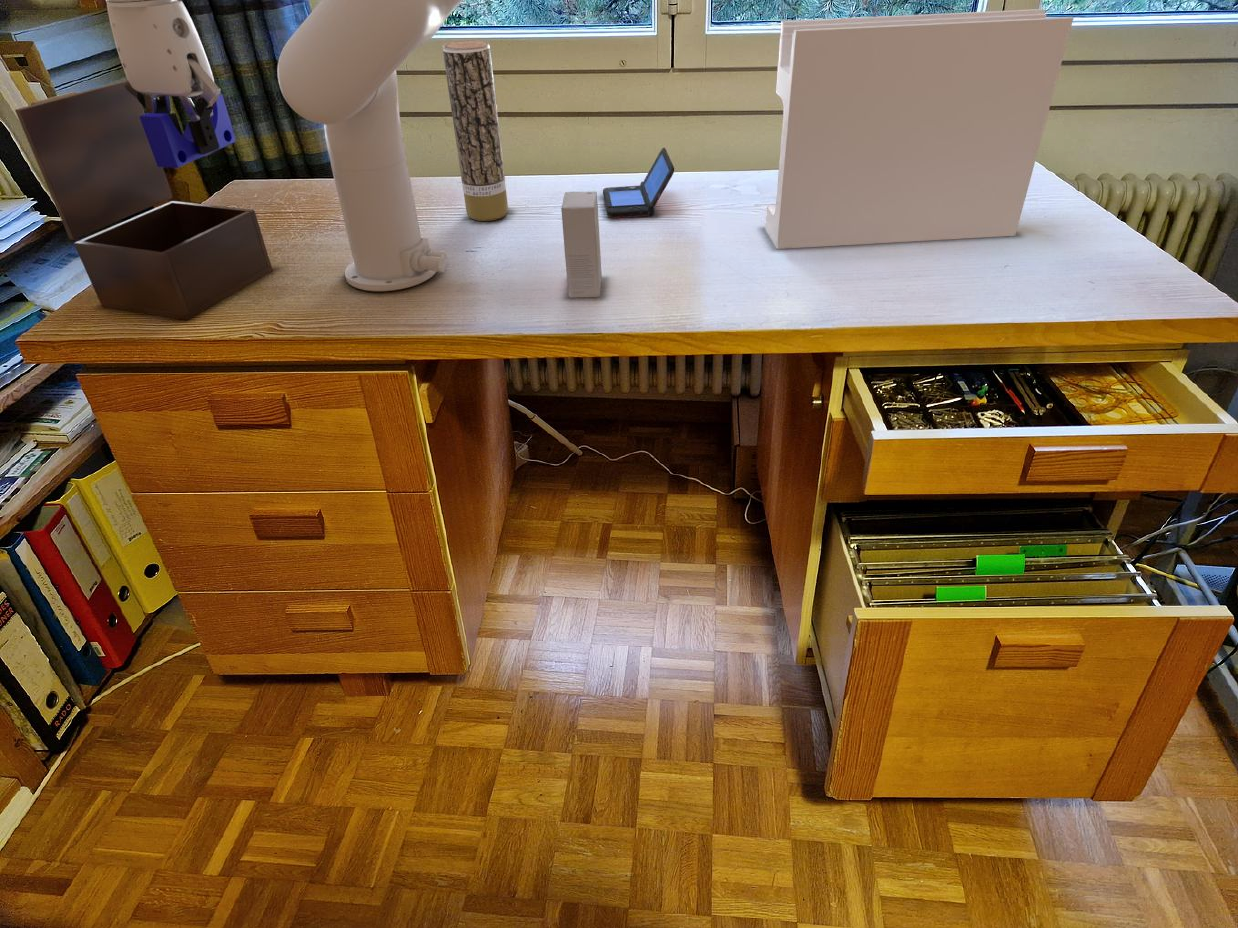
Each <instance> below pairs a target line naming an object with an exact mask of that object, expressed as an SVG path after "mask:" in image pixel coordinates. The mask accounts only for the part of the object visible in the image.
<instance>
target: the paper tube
mask: <svg viewBox="0 0 1238 928" xmlns="http://www.w3.org/2000/svg"><path fill="white" fill-rule="evenodd" d="M441 47H442V56H443V63H444V70H445V74H446V83H447V89H448V96H449V103H450V110H451V117H452V123H453V131H454V137H455V143H456V145H455V146H456V151H457V158H458V165H459V172H460V179H461V185H462V190H463V198H464V205H465V211H466V215H467V216H468V218H470V219H471V220H474V221H480V222H490V221H495V220H499V219H501V218H504V217H505V216H507V214H508V212H509V204H508V203H509V202H508V195H507V193H508V192H507V185H506V176H505V175H506V174H505V166H504V159H503V158H504V157H503V150H502V139H501V132H500V131H501V130H500V123H499V115H498V105H497V97H496V96H497V95H496V89H495V81H494V79H495V78H494V72H493V71H494V70H493V63H492V54H491V46H490V42H489V41H485V40H459V41H451V42H447V43H445V44H443V45H442V46H441Z"/></svg>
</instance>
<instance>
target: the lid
mask: <svg viewBox="0 0 1238 928" xmlns="http://www.w3.org/2000/svg"><path fill="white" fill-rule="evenodd" d="M14 111H15V114H16V116H17V118H18V121H19V123H20V126H21V127H22V130H23V134H24V136H25V137H26V140H27V142H28V144H29V147H30V149H31V151H32V154H33V157H34V158H35V161H36V163H37V165H38V168H39V170H40V172H41V175H42V177H43V180H44V182H45V184H46V187H47V189H48V192H49V194H50V196H51V199H52V201H53V204H54V206H55V208H56V210H57V212H58V215H59V217H60V220H61V222H62V225H63V227H64V230H65V231H66V235H67V237H68V239H69V240H77V239H80V238H81V237H83V236H86V235H88V234H91V233H93V232H95V231H98V230H100V229H103V228H105V227H108V226H109V225H112V224H114V223H117V222H119V221H121V220H124V219H127V218H128V217H129V218H130V217H131V216H133V215H135V214H138V213H141V212H143V211H145V210H147V209H149V208H153V207H155V206H156V205H159V204H161V203H165V202H166V201H168V200H171V199H173V194H172V190H171V188H170V185H169V182H168V179H167V176H166V173H165V170H164V167H158V166H157V164H156V161H155V158H154V155H153V153H152V150H151V147H150V144H149V142H148V139H147V136H146V133H145V131H144V128H143V125H142V122H141V120H140V117H139V116H141V115H144V114H146V113H145V111H144V106H143V105H142V104H141V103H140V102H139V101H138V99H137V98H136V97H135V96H133V95H132V94H131V93H130V92H129V91H128V90H127V89H126V88H125V80H120V81H117V82H114V83H109V84H106V85H102V86H98V87H95V88H91V89H88V90H87V89H86V90H84V91H80V92H77V91H71V92H67V93H63V94H60V95H59V94H58V95H56V96H52V97H48V98H45V99H40V100H36V101H33V102H31V103H30V105H27V106H24V107H20V108H15V110H14Z"/></svg>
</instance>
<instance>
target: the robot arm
mask: <svg viewBox="0 0 1238 928" xmlns="http://www.w3.org/2000/svg"><path fill="white" fill-rule="evenodd" d="M462 1H463V0H320V1H319V2H318V3H317V4H316V6H315V7H314V9H313V10H312V11H311V12H310V13H309V15H308V16H307V17H306V18H305V19H304V20H303V22H302V23H301V24H300V25H299V27H297V28H296V30H295V32H294V33H292V34H291V36H290V38H288V40H287V41H286V43H285V45H284V46H283V48H282V50H281V51H280V55H279V58H278V60H277V69H276V70H277V71H276V72H277V82H278V85H279V89H280V91H281V94H282V96H283V98H284V100H285V102H286V103H287V104H288V106H289V107H290V108H291V109H292V110H293V112H295V113H296V114H297V115H298V116H300V117H301V118H303V119H305V120H307V121H308V122H311V123H315V124H319V125H323V128H324V129H323V131H324V137H325V143H326V149H327V154H328V157H329V158H328V159H329V161H330V167H331V171H332V176H333V180H334V183H335V188H336V193H337V197H338V201H339V204H340V210H341V213H342V217H343V222H344V226H345V230H346V234H347V239H348V243H349V247H350V251H351V255H352V259H353V261H352V262H350V263H349V264H348V265H347V266H346V268H345V270H344V276H345V279H346V282H347V284H348V285H350V286H352V288H353V287H354V288H355V289H359V290H362V291H369V292H390V291H391V292H392V291H398V290H403V289H408V288H412V287H415V286H418V285H420V284H422V283H425V282H426V281H428V280H430V279H431V278H433V276H434V275H436V273H437V272H439V273H443V272H445V270H446V268H447V257H448V256H447V253H446V252H445V251H441V250H432V249H431V248H430V247H431V246H430V242H429V238H427V237H426V238H424V237H422V236H421V230H420V224H419V219H418V214H417V213H418V212H417V209H416V208H417V207H416V202H415V198H414V192H413V187H412V181H411V175H410V170H409V166H408V165H409V163H408V159H407V152H406V147H405V141H404V136H403V129H402V122H401V113H400V102H399V88H398V87H399V86H398V74H397V69H398V68H399V67H400V66H401V65H402V64H403V63H404V62H405V60H407V59H408V57H410V56H411V54H413V52H415V51H416V50H417V49H419V48H420V47H422V46H423V45H424V44H426V43H428V42H429V41H430V40H431V39H432V38H433V37H434V36H435V35H436V34H437V33H438V32H439V29H440V28H441V26H442V25H443V24H444V23H445V22H446V20H447V19H448V18H449V16H450V15H451V14H452V13H453V11H454V10H455V9H456V8H457V7H458V6H459V5H460V4H461V3H462ZM105 2H106V9H107V15H108V20H109V24H110V28H111V32H112V36H113V39H114V43H115V47H116V51H117V53H118V58H119V60H120V62H121V66H122V69H123V72H124V73H125V80H124V81H125V88H126V89H127V90H128V91H129V92H130V93H131V94H132V95H133V96H135V97H136V98H137V99H138V101H139V102H140V103H141V104H142V107H143V108H144V109H145V110H146V114H147V113H162V114H169V116H170V118H171V120H172V122H173V124H174V126H175V127H176V129H177V130H178V132H179V133H180V134H181V135H183V133H184V132H183V129H182V128H181V124H180V122H179V118H178V115H177V114H176V112H172V108H171V106H172V105H171V100H170V97H178V98H179V101H180V102H181V104H182V106H183V108H184V110H185V112H186V113H187V116H188V117H189V120H190V121H187V123H188V125H189V128H190V131H191V134H192V137H193V140H194V143H195V146H196V149H197V152H198V153H199V154H202V155H204V154H207V153H209V152H212V151H214V152H216V151H218V150H217V149H219V143H218V140H217V137H216V134H215V130H214V127H213V124H212V121H211V118H210V117H212V116H213V111H212V110H213V108H214V105H215V102H216V100H217V99H218V97H219V95H220V94H222V92H221V88H220V87H219V86H218V85H217V84H216V82H215V78H214V75H213V70H212V69H211V64H210V62H209V60H208V56H207V53H206V50H205V49H204V46H203V44H202V43H203V42H202V41H201V38H200V36H199V33H198V31H197V28H196V26H195V23H194V22H193V19H192V17H191V16H190V13H189V11H188V9H187V7H186V6H185V4H184V2H183V0H105ZM192 99H195V101H196V102H195V104H194V102H193V101H192ZM215 150H216V151H215ZM219 150H220V149H219ZM212 153H213V152H212Z"/></svg>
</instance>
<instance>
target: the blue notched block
mask: <svg viewBox="0 0 1238 928" xmlns="http://www.w3.org/2000/svg"><path fill="white" fill-rule="evenodd" d="M212 111H213V116H212V117H210V118H211V121H212V124H213V127H214V130H215V134H216V137H217V140H218V143H219V149H217V150H215V151H212V152H209V153H207V154H204V155H202V154H199V153H198V152H197V149H196V146H195V143H194V140H193V137H192V134H191V131H190V128H189V125H188V122H187V123H186V127H185V129H184V131H183V132H182V133H183V135H181V134H180V133H179V132H178V130H177V129H176V127H175V126H174V124H173V122H172V120H171V118H170V116H169V114H162V113H147V112H146V113H145V114H144V115H141V116H139V117H140V120H141V122H142V125H143V128H144V131H145V133H146V136H147V139H148V142H149V144H150V147H151V150H152V153H153V155H154V158H155V161H156V164H157V166H158V167H163V168H170V169H171V168H172V169H173V168H174V169H179V168H181V167H183V166H185V165H188V164H190V163H193V162H194V161H197V160H199V159H200V158H203V157H205V156H208V155H210V154H212V153H214V152H216V151H219V150H220V149H223V148H225V147H227V146H230V145H232V144H234V143H236V142H237V138H236V135H235V131H234V128H233V125H232V122H231V119H230V115H229V111H228V109H227V105H226V103H225V99H224V94H223V93H220V95H219V97H218V99H217V100H216V102H215V105H214V108H213V110H212Z"/></svg>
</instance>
